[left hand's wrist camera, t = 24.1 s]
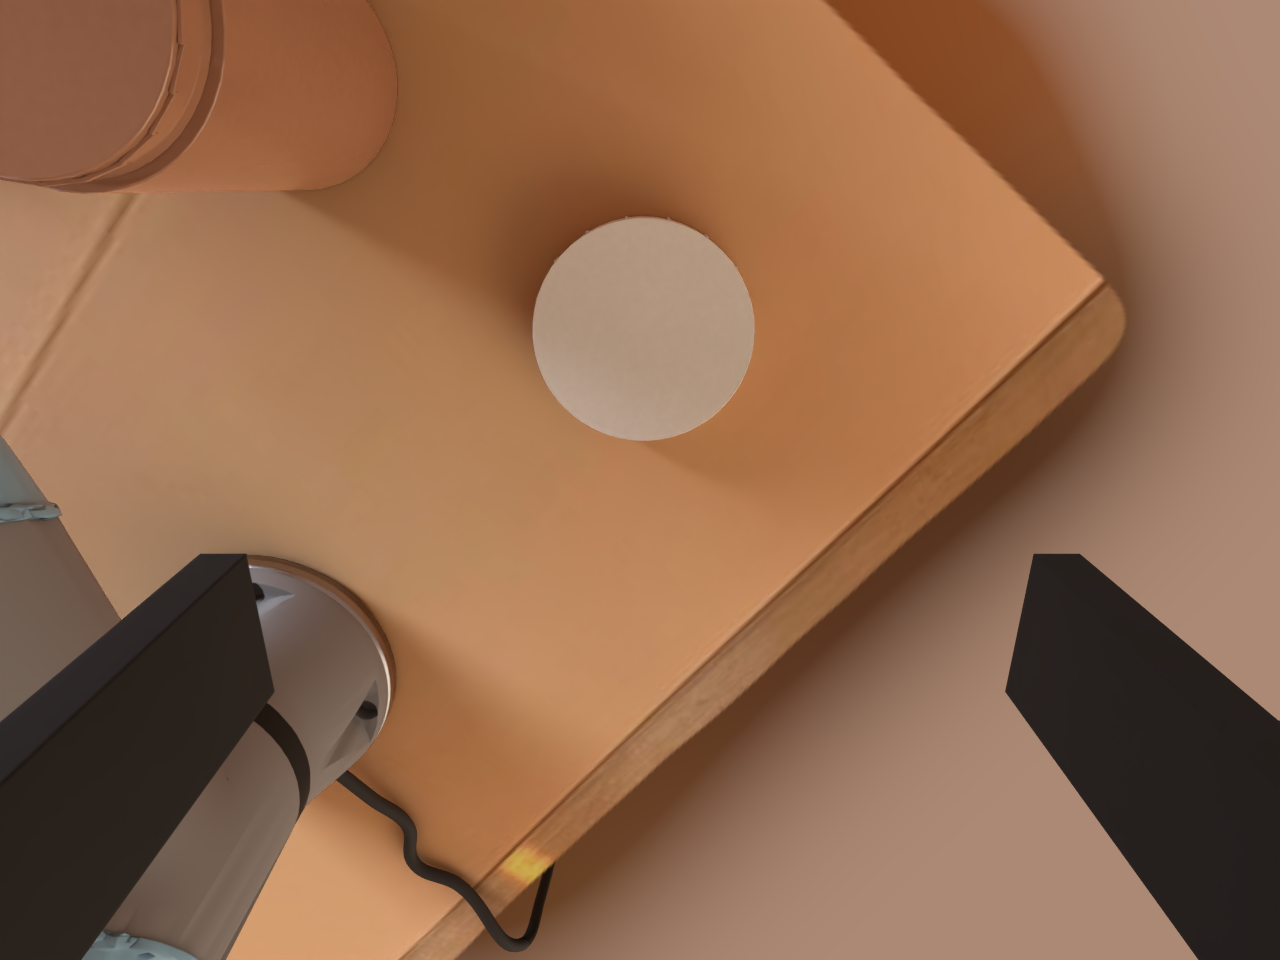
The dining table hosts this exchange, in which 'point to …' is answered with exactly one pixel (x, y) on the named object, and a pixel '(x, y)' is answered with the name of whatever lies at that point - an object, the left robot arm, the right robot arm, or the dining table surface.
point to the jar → (192, 94)
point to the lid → (643, 328)
